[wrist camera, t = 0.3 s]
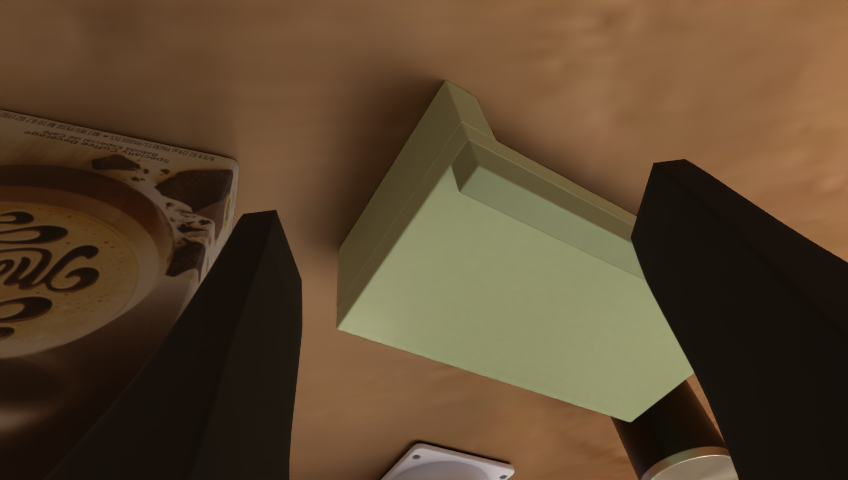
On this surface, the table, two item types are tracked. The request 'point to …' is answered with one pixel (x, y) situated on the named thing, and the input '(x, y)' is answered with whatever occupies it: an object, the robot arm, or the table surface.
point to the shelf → (505, 271)
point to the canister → (676, 441)
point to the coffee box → (92, 272)
